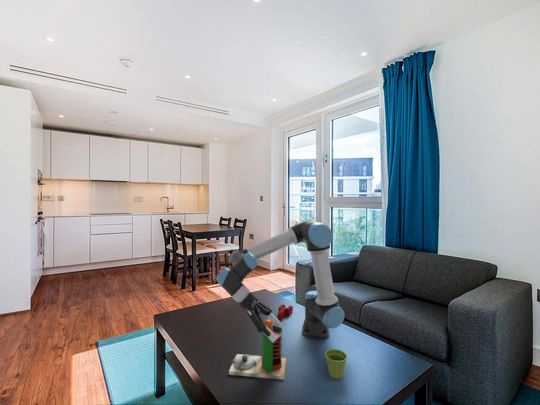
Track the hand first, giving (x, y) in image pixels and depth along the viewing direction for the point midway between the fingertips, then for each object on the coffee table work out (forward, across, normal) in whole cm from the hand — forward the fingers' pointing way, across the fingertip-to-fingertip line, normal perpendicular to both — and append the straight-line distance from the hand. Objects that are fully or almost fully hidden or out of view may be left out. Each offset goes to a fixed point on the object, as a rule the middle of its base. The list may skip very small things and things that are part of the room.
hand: (277, 332), depth 123 cm
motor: (+9, 0, -12) cm, 15 cm away
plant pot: (+30, 0, +6) cm, 31 cm away
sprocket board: (+6, 0, -18) cm, 19 cm away
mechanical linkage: (+10, -55, -14) cm, 58 cm away
